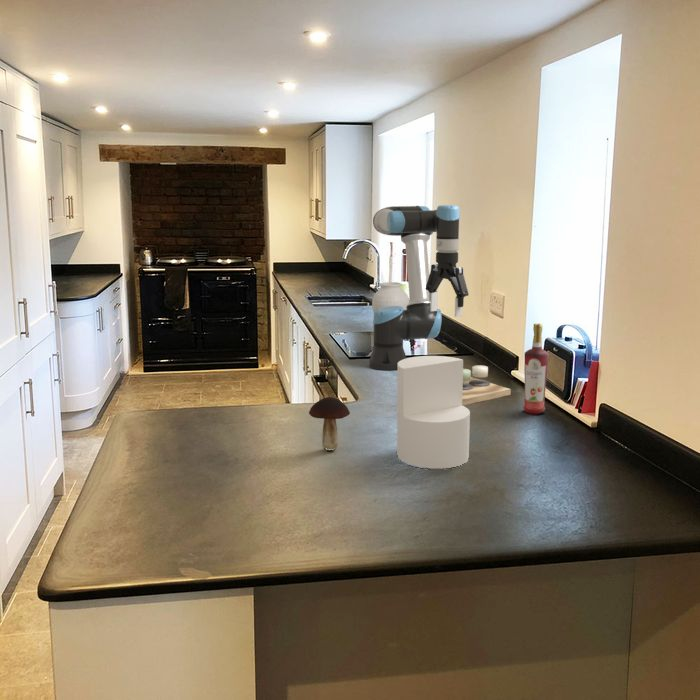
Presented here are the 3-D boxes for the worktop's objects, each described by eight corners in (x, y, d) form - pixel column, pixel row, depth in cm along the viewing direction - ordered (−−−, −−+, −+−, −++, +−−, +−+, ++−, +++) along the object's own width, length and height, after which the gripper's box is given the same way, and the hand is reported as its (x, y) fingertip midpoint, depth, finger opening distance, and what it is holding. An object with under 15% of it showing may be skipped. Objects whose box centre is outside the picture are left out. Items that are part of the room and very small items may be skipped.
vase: (410, 338, 337) (410, 285, 331) (372, 339, 337) (372, 286, 331) (408, 331, 354) (408, 280, 348) (371, 331, 354) (371, 281, 349)
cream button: (468, 375, 251) (468, 366, 250) (480, 372, 254) (480, 364, 253) (479, 378, 246) (479, 369, 246) (491, 376, 249) (491, 367, 249)
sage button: (451, 378, 247) (451, 370, 246) (463, 376, 249) (463, 367, 249) (461, 381, 242) (462, 373, 241) (473, 379, 245) (474, 371, 244)
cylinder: (385, 450, 194) (385, 360, 188) (445, 440, 201) (447, 353, 196) (418, 474, 177) (419, 376, 172) (482, 462, 184) (485, 368, 179)
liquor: (547, 410, 227) (552, 323, 221) (543, 416, 220) (548, 327, 214) (524, 407, 230) (528, 321, 224) (519, 414, 223) (523, 325, 217)
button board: (414, 391, 250) (414, 384, 249) (466, 380, 262) (466, 374, 262) (456, 406, 231) (457, 399, 231) (510, 394, 244) (510, 387, 244)
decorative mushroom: (355, 446, 197) (355, 393, 194) (342, 460, 187) (341, 404, 184) (318, 442, 201) (317, 390, 197) (303, 455, 190) (301, 401, 187)
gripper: (415, 249, 252) (415, 309, 257) (463, 254, 233) (461, 319, 237) (432, 248, 256) (431, 307, 261) (480, 253, 237) (478, 317, 241)
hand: (445, 313), depth 249 cm, fingers open, 12 cm apart
